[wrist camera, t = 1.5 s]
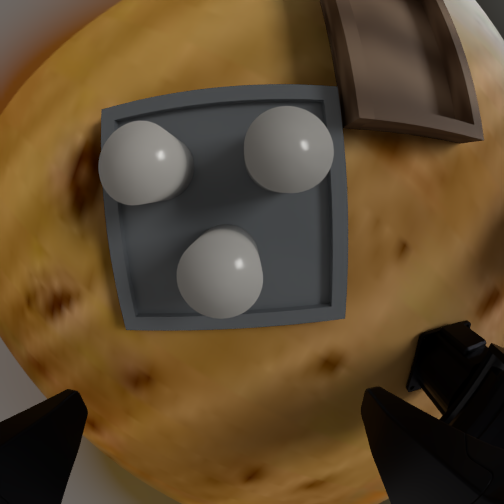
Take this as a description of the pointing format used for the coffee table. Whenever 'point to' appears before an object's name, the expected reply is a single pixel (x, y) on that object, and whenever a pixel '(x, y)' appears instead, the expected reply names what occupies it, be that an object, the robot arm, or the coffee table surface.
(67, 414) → the robot arm
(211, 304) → the stone
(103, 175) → the stone
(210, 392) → the coffee table surface
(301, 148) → the stone
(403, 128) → the walnut box
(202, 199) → the slate tray
